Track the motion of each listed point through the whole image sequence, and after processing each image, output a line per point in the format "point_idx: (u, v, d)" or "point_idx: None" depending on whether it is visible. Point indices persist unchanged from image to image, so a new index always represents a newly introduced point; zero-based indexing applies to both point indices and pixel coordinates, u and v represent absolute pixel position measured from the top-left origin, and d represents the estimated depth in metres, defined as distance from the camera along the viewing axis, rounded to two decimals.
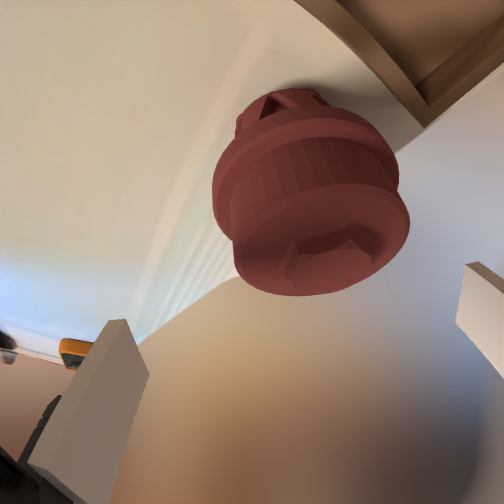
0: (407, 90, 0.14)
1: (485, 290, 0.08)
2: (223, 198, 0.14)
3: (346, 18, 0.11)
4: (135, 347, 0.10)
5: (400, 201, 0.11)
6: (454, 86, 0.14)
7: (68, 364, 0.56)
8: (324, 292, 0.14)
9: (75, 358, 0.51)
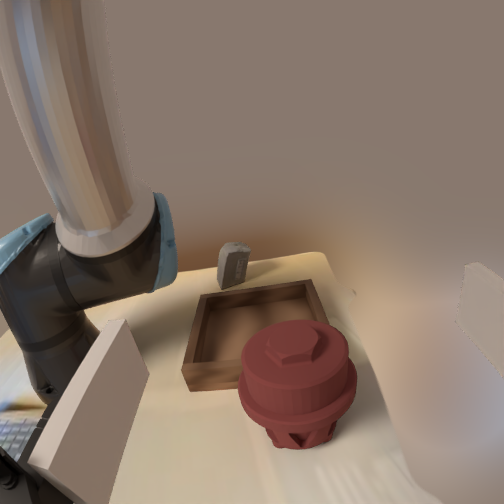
0: None
1: (485, 290, 0.08)
2: (249, 401, 0.22)
3: None
4: (135, 347, 0.10)
5: (290, 320, 0.26)
6: None
7: None
8: (310, 347, 0.21)
9: None
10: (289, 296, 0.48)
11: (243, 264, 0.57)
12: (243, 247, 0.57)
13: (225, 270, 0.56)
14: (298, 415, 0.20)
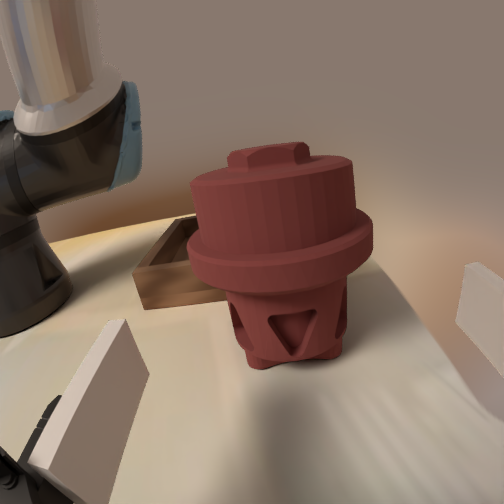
0: None
1: (485, 290, 0.08)
2: (199, 248, 0.15)
3: None
4: (135, 347, 0.10)
5: None
6: None
7: None
8: (291, 144, 0.14)
9: None
10: None
11: None
12: None
13: None
14: (278, 252, 0.13)
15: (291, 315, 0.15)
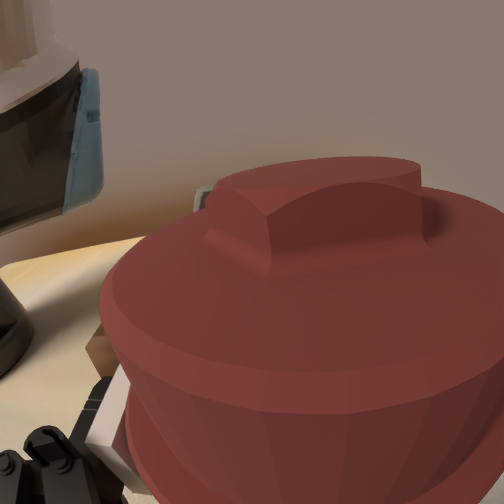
0: None
1: None
2: (146, 437, 0.05)
3: None
4: None
5: None
6: None
7: None
8: (404, 171, 0.04)
9: None
10: None
11: None
12: None
13: None
14: None
15: None
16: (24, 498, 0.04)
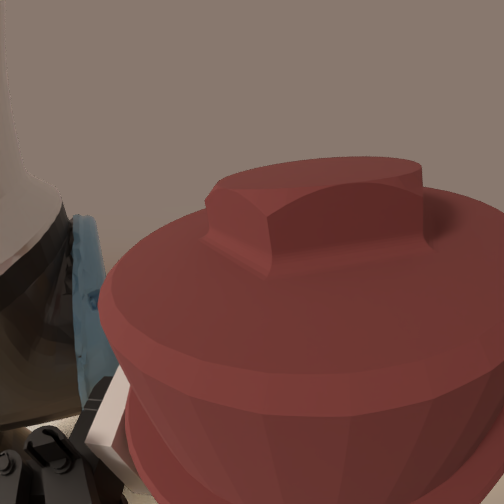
0: None
1: None
2: (146, 438, 0.05)
3: None
4: None
5: None
6: None
7: None
8: (405, 171, 0.04)
9: None
10: None
11: None
12: None
13: None
14: None
15: None
16: (23, 498, 0.04)
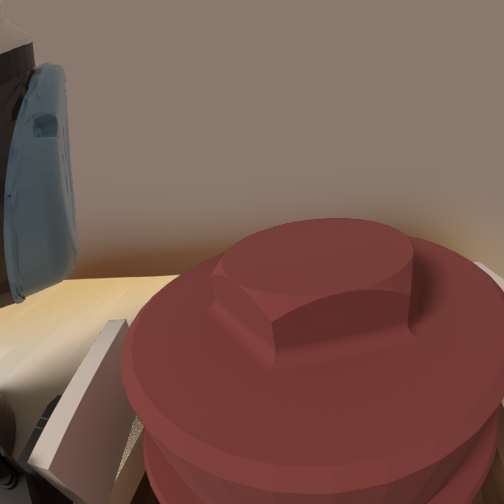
0: None
1: None
2: (166, 474, 0.05)
3: None
4: None
5: None
6: None
7: None
8: (397, 264, 0.04)
9: None
10: None
11: None
12: None
13: None
14: None
15: None
16: None
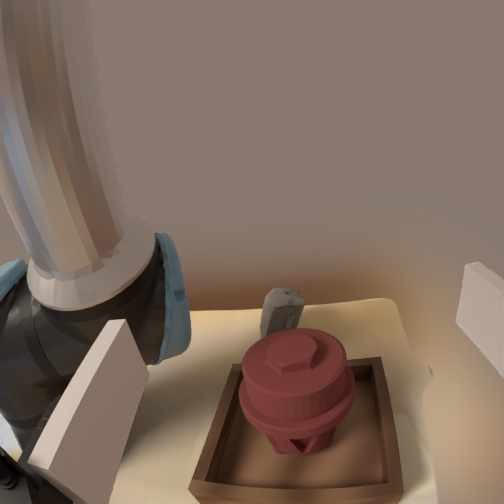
0: (362, 491, 0.17)
1: (485, 290, 0.08)
2: (250, 408, 0.22)
3: (290, 492, 0.19)
4: (135, 347, 0.10)
5: None
6: (387, 459, 0.20)
7: None
8: (308, 355, 0.21)
9: None
10: None
11: (294, 319, 0.43)
12: (295, 298, 0.43)
13: (269, 327, 0.42)
14: (299, 421, 0.20)
15: None
16: None
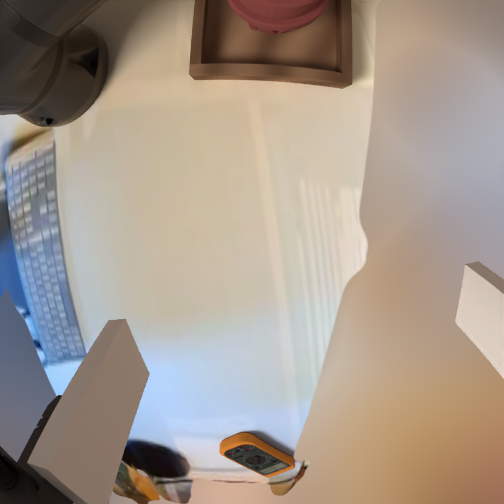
0: (323, 74, 0.29)
1: (485, 290, 0.08)
2: (240, 6, 0.21)
3: (269, 67, 0.29)
4: (135, 347, 0.10)
5: None
6: (342, 53, 0.28)
7: (255, 468, 0.56)
8: None
9: (241, 454, 0.53)
10: None
11: None
12: None
13: None
14: (282, 19, 0.22)
15: None
16: None
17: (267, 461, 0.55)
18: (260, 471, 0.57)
